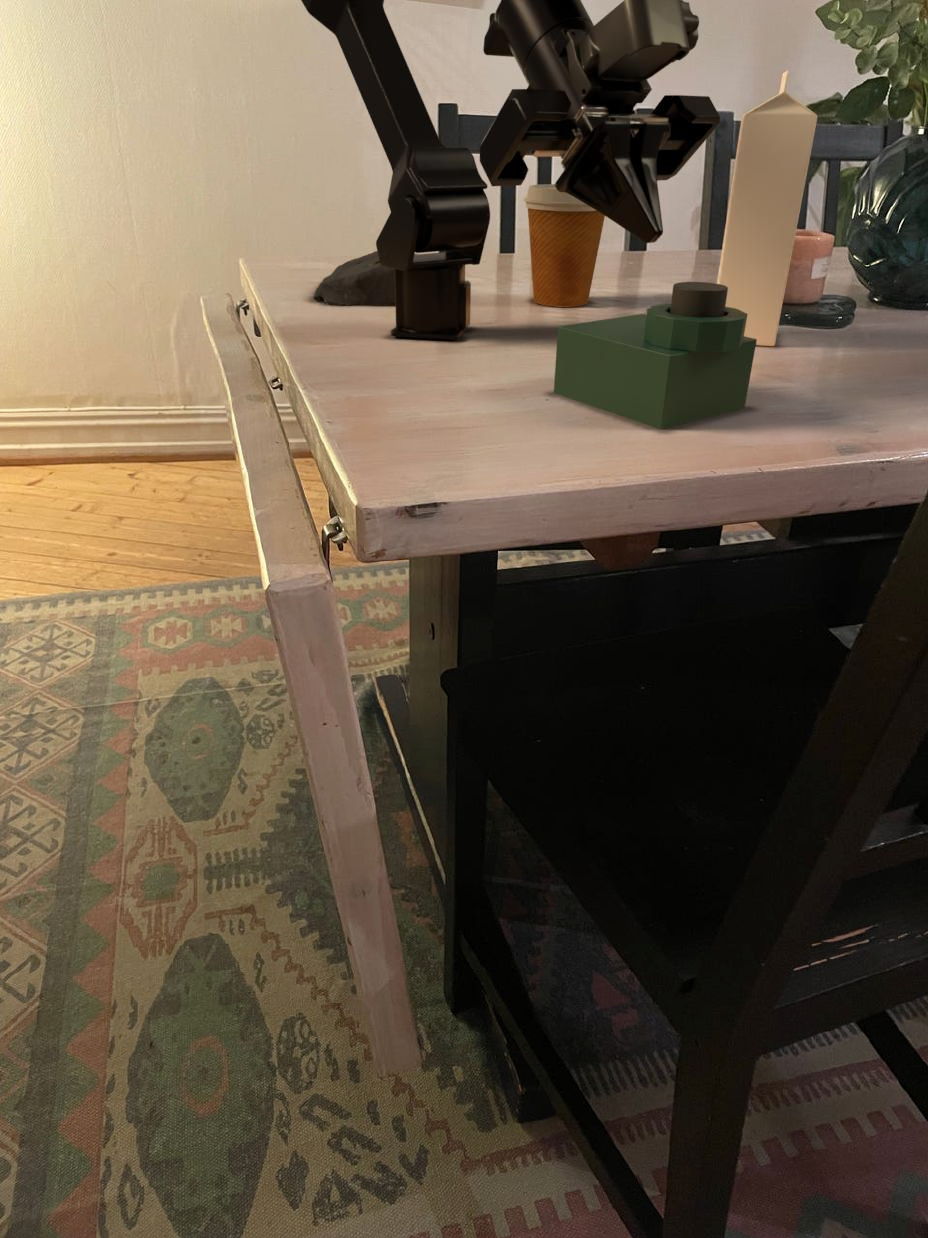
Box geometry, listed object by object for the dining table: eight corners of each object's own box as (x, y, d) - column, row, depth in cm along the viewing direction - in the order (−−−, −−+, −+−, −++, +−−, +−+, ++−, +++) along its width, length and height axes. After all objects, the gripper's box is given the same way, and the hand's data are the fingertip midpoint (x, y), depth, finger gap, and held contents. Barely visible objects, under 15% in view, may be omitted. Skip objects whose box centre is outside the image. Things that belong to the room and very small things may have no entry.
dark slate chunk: (444, 275, 116) (444, 237, 113) (446, 306, 97) (446, 260, 94) (330, 274, 115) (327, 236, 113) (309, 305, 96) (306, 259, 94)
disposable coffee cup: (615, 300, 101) (625, 186, 95) (579, 312, 94) (588, 190, 88) (543, 292, 105) (549, 182, 99) (504, 303, 98) (508, 186, 92)
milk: (709, 343, 82) (748, 69, 71) (709, 330, 87) (746, 73, 76) (776, 347, 81) (826, 69, 70) (772, 333, 86) (818, 72, 75)
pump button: (658, 315, 59) (662, 284, 58) (693, 310, 61) (697, 279, 60) (699, 325, 57) (704, 292, 56) (734, 319, 59) (739, 287, 58)
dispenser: (553, 393, 66) (559, 297, 63) (635, 376, 71) (645, 286, 67) (674, 435, 58) (690, 327, 54) (758, 412, 62) (777, 312, 59)
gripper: (513, -75, 50) (629, 149, 48) (721, -40, 60) (825, 147, 58) (436, 86, 60) (530, 278, 57) (626, 93, 69) (713, 258, 67)
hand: (655, 238), depth 60 cm, fingers closed
